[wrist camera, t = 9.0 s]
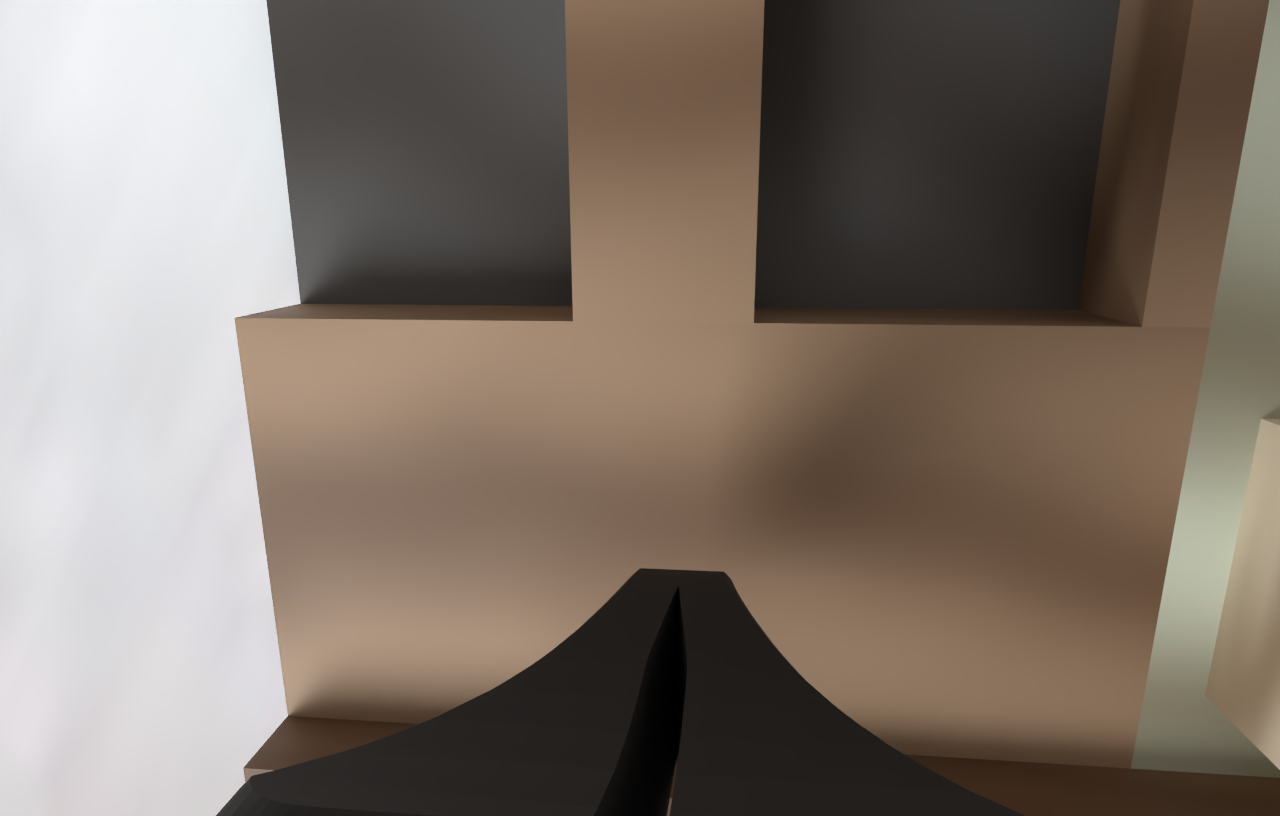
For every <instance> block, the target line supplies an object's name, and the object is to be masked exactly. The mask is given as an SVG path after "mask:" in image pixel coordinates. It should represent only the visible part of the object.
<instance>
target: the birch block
mask: <svg viewBox="0 0 1280 816" xmlns="http://www.w3.org/2000/svg"><path fill="white" fill-rule="evenodd" d="M1205 696H1206V697H1207V698H1208V699H1209V700H1210V701H1211V702H1212V703H1213V704H1214V705H1215V706H1216V707H1217V708H1218V709H1219V710H1220V711H1221V712H1222V713H1223V714H1224V715H1225V716H1226V717H1227V718H1228V719H1229V720H1230V721H1231V722H1232V723H1233V724H1234V725H1235V726H1236V727H1237V728H1238V729H1239V730H1240V731H1241V732H1242V733H1243V734H1244V735H1245V736H1246V737H1247V738H1248V739H1249V740H1250V741H1251V742H1252V743H1253V744H1254V745H1255V746H1256V747H1257V748H1258V749H1259V750H1260V751H1261V752H1262V753H1263V754H1264V755H1265V756H1266V757H1267V758H1268V759H1269V760H1270V761H1271V762H1272V763H1273V764H1274V765H1275V766H1276V767H1277V768H1278V769H1279V770H1280V419H1261V422H1260V427H1259V432H1258V436H1257V441H1256V446H1255V451H1254V456H1253V461H1252V466H1251V471H1250V476H1249V481H1248V486H1247V491H1246V496H1245V501H1244V506H1243V510H1242V515H1241V520H1240V525H1239V530H1238V535H1237V540H1236V545H1235V550H1234V555H1233V560H1232V565H1231V570H1230V575H1229V580H1228V584H1227V589H1226V594H1225V599H1224V604H1223V609H1222V614H1221V619H1220V624H1219V629H1218V634H1217V639H1216V644H1215V649H1214V653H1213V658H1212V663H1211V668H1210V673H1209V678H1208V683H1207V688H1206V693H1205Z"/></svg>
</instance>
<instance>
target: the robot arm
mask: <svg viewBox="0 0 1280 816" xmlns="http://www.w3.org/2000/svg"><path fill="white" fill-rule="evenodd" d="M676 759H677V770H676V778H675V784H674V790H673V797H672V803H671V809H670V815H669V816H1025V815H1023V814H1021V813H1018V812H1016V811H1014V810H1012V809H1009V808H1007V807H1005V806H1002V805H1000V804H998V803H996V802H993V801H991V800H989V799H987V798H984V797H982V796H980V795H978V794H975V793H973V792H971V791H969V790H967V789H965V788H963V787H961V786H959V785H958V784H956V783H954V782H952V781H950V780H948V779H947V778H945V777H943V776H941V775H939V774H937V773H936V772H934V771H932V770H930V769H928V768H926V767H925V766H923V765H921V764H919V763H917V762H916V761H914V760H912V759H911V758H909V757H908V756H906V755H904V754H903V753H901V752H899V751H898V750H896V749H894V748H893V747H891V746H890V745H888V744H887V743H885V742H884V741H882V740H881V739H880V738H878V737H877V736H875V735H874V734H872V733H871V732H870V731H868V730H867V729H865V728H864V727H862V726H861V725H859V724H858V723H857V722H855V721H854V720H852V719H851V718H850V717H849V716H847V715H846V714H845V713H843V712H842V711H841V710H840V709H838V708H837V707H836V706H835V705H833V704H832V703H831V702H830V701H829V700H828V699H827V698H825V697H824V696H823V695H822V694H821V693H820V692H819V691H817V690H816V689H815V688H814V687H813V686H812V685H811V684H809V683H808V682H807V681H806V680H805V679H804V678H803V677H802V676H801V675H800V674H799V673H798V672H797V670H796V669H795V668H794V667H793V666H792V665H791V664H790V663H789V662H788V661H787V659H786V658H785V657H784V656H783V655H782V654H781V652H780V651H779V650H778V649H777V648H776V646H775V645H774V644H773V643H772V641H771V640H770V639H769V638H768V636H767V635H766V634H765V632H764V631H763V630H762V628H761V627H760V626H759V624H758V623H757V622H756V620H755V619H754V617H753V616H752V614H751V613H750V612H749V610H748V608H747V607H746V605H745V604H744V602H743V601H742V599H741V597H740V596H739V594H738V592H737V590H736V588H735V586H734V584H733V582H732V580H731V578H730V577H729V576H728V575H727V574H726V573H725V572H722V571H697V570H672V569H647V568H640V569H639V570H638V571H636V572H635V573H634V574H633V575H632V576H631V577H630V578H629V579H628V580H627V581H626V582H625V583H624V584H623V585H622V586H621V587H620V589H619V590H618V591H617V592H616V593H615V594H614V595H613V596H612V597H611V598H610V599H609V600H608V601H607V602H606V603H605V604H604V605H603V606H602V607H601V608H600V609H599V610H598V611H597V612H596V613H595V614H593V615H592V616H591V617H590V618H589V619H588V620H587V621H586V622H585V623H584V624H583V625H582V626H581V627H580V628H579V629H577V630H576V631H575V632H574V633H573V634H571V635H570V636H569V637H568V638H566V639H565V640H564V641H563V642H562V643H560V644H559V645H558V646H557V647H555V648H554V649H553V650H552V651H550V652H549V653H548V654H546V655H545V656H544V657H542V658H541V659H539V660H538V661H536V662H535V663H534V664H532V665H531V666H529V667H528V668H526V669H524V670H523V671H521V672H520V673H518V674H516V675H515V676H513V677H512V678H510V679H508V680H507V681H505V682H504V683H502V684H500V685H498V686H497V687H495V688H493V689H491V690H489V691H487V692H485V693H483V694H481V695H479V696H477V697H475V698H473V699H471V700H469V701H467V702H465V703H463V704H461V705H459V706H457V707H455V708H453V709H451V710H449V711H447V712H445V713H443V714H441V715H439V716H437V717H435V718H433V719H430V720H428V721H425V722H423V723H421V724H418V725H416V726H413V727H411V728H408V729H406V730H403V731H401V732H398V733H395V734H393V735H390V736H387V737H384V738H382V739H379V740H376V741H373V742H370V743H368V744H365V745H362V746H359V747H356V748H352V749H349V750H346V751H343V752H340V753H336V754H332V755H329V756H325V757H321V758H318V759H314V760H311V761H307V762H303V763H300V764H296V765H292V766H289V767H285V768H282V769H278V770H274V771H270V772H266V773H262V774H257V775H253V776H251V777H250V778H249V780H248V781H247V782H246V783H245V784H244V785H243V786H242V787H241V788H240V789H239V790H238V791H237V793H236V794H235V795H234V796H233V797H232V798H231V799H230V801H229V802H228V803H227V804H226V805H225V806H224V807H223V808H222V810H221V811H220V812H219V813H218V814H217V815H216V816H667V812H668V806H669V800H670V794H671V789H672V783H673V777H674V771H675V765H676Z"/></svg>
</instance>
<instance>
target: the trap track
mask: <svg viewBox="0 0 1280 816" xmlns="http://www.w3.org/2000/svg"><path fill="white" fill-rule="evenodd" d="M267 7H268V16H269V25H270V34H271V43H272V52H273V61H274V70H275V78H276V87H277V96H278V105H279V114H280V123H281V132H282V141H283V149H284V158H285V167H286V176H287V185H288V194H289V203H290V212H291V220H292V229H293V238H294V247H295V256H296V265H297V274H298V283H299V291H300V300H301V304H298V305H293V306H288V307H284V308H279V309H274V310H270V311H265V312H261V313H256V314H251V315H247V316H242V317H237V318H235V324H236V332H237V339H238V346H239V354H240V361H241V369H242V376H243V384H244V391H245V398H246V406H247V413H248V421H249V428H250V436H251V443H252V451H253V458H254V465H255V473H256V480H257V488H258V495H259V503H260V510H261V517H262V525H263V532H264V540H265V547H266V555H267V562H268V569H269V577H270V584H271V592H272V599H273V607H274V614H275V621H276V629H277V636H278V644H279V651H280V659H281V666H282V673H283V681H284V688H285V696H286V703H287V711H288V717H287V718H286V719H285V720H284V721H283V723H282V724H281V725H280V726H279V727H278V728H277V730H276V731H275V732H274V733H273V734H272V735H271V737H270V738H269V739H268V740H267V741H266V742H265V744H264V745H263V746H262V747H261V748H260V749H259V751H258V752H257V753H256V754H255V755H254V756H253V758H252V759H251V760H250V761H249V762H248V763H247V765H246V766H245V767H244V768H243V769H244V775H245V782H247V781H248V780H249V778H250V777H251V776H253V775H257V774H262V773H266V772H270V771H274V770H278V769H282V768H285V767H289V766H292V765H296V764H300V763H303V762H307V761H311V760H314V759H318V758H321V757H325V756H329V755H332V754H336V753H340V752H343V751H346V750H349V749H352V748H356V747H359V746H362V745H365V744H368V743H370V742H373V741H376V740H379V739H382V738H384V737H387V736H390V735H393V734H395V733H398V732H401V731H403V730H406V729H408V728H411V727H413V726H416V725H418V724H421V723H423V722H425V721H428V720H430V719H433V718H435V717H437V716H439V715H441V714H443V713H445V712H447V711H449V710H451V709H453V708H455V707H457V706H459V705H461V704H463V703H465V702H467V701H469V700H471V699H473V698H475V697H477V696H479V695H481V694H483V693H485V692H487V691H489V690H491V689H493V688H495V687H497V686H498V685H500V684H502V683H504V682H505V681H507V680H508V679H510V678H512V677H513V676H515V675H516V674H518V673H520V672H521V671H523V670H524V669H526V668H528V667H529V666H531V665H532V664H534V663H535V662H536V661H538V660H539V659H541V658H542V657H544V656H545V655H546V654H548V653H549V652H550V651H552V650H553V649H554V648H555V647H557V646H558V645H559V644H560V643H562V642H563V641H564V640H565V639H566V638H568V637H569V636H570V635H571V634H573V633H574V632H575V631H576V630H577V629H579V628H580V627H581V626H582V625H583V624H584V623H585V622H586V621H587V620H588V619H589V618H590V617H591V616H592V615H593V614H595V613H596V612H597V611H598V610H599V609H600V608H601V607H602V606H603V605H604V604H605V603H606V602H607V601H608V600H609V599H610V598H611V597H612V596H613V595H614V594H615V593H616V592H617V591H618V590H619V589H620V587H621V586H622V585H623V584H624V583H625V582H626V581H627V580H628V579H629V578H630V577H631V576H632V575H633V574H634V573H635V572H636V571H638V570H639V569H640V568H647V569H672V570H697V571H722V572H725V573H726V574H727V575H728V576H729V577H730V578H731V580H732V582H733V584H734V586H735V588H736V590H737V592H738V594H739V596H740V597H741V599H742V601H743V602H744V604H745V605H746V607H747V608H748V610H749V612H750V613H751V614H752V616H753V617H754V619H755V620H756V622H757V623H758V624H759V626H760V627H761V628H762V630H763V631H764V632H765V634H766V635H767V636H768V638H769V639H770V640H771V641H772V643H773V644H774V645H775V646H776V648H777V649H778V650H779V651H780V652H781V654H782V655H783V656H784V657H785V658H786V659H787V661H788V662H789V663H790V664H791V665H792V666H793V667H794V668H795V669H796V670H797V672H798V673H799V674H800V675H801V676H802V677H803V678H804V679H805V680H806V681H807V682H808V683H809V684H811V685H812V686H813V687H814V688H815V689H816V690H817V691H819V692H820V693H821V694H822V695H823V696H824V697H825V698H827V699H828V700H829V701H830V702H831V703H832V704H833V705H835V706H836V707H837V708H838V709H840V710H841V711H842V712H843V713H845V714H846V715H847V716H849V717H850V718H851V719H852V720H854V721H855V722H857V723H858V724H859V725H861V726H862V727H864V728H865V729H867V730H868V731H870V732H871V733H872V734H874V735H875V736H877V737H878V738H880V739H881V740H882V741H884V742H885V743H887V744H888V745H890V746H891V747H893V748H894V749H896V750H898V751H899V752H901V753H903V754H904V755H906V756H908V757H909V758H911V759H912V760H914V761H916V762H917V763H919V764H921V765H923V766H925V767H926V768H928V769H930V770H932V771H934V772H936V773H937V774H939V775H941V776H943V777H945V778H947V779H948V780H950V781H952V782H954V783H956V784H958V785H959V786H961V787H963V788H965V789H967V790H969V791H971V792H973V793H975V794H978V795H980V796H982V797H984V798H987V799H989V800H991V801H993V802H996V803H998V804H1000V805H1002V806H1005V807H1007V808H1009V809H1012V810H1014V811H1016V812H1018V813H1021V814H1023V815H1025V816H1280V770H1279V769H1278V768H1277V767H1276V766H1275V765H1274V764H1273V763H1272V762H1271V761H1270V760H1269V759H1268V758H1267V757H1266V756H1265V755H1264V754H1263V753H1262V752H1261V751H1260V750H1259V749H1258V748H1257V747H1256V746H1255V745H1254V744H1253V743H1252V742H1251V741H1250V740H1249V739H1248V738H1247V737H1246V736H1245V735H1244V734H1243V733H1242V732H1241V731H1240V730H1239V729H1238V728H1237V727H1236V726H1235V725H1234V724H1233V723H1232V722H1231V721H1230V720H1229V719H1228V718H1227V717H1226V716H1225V715H1224V714H1223V713H1222V712H1221V711H1220V710H1219V709H1218V708H1217V707H1216V706H1215V705H1214V704H1213V703H1212V702H1211V701H1210V700H1209V699H1208V698H1207V697H1206V696H1205V693H1206V688H1207V683H1208V678H1209V673H1210V668H1211V663H1212V658H1213V653H1214V649H1215V644H1216V639H1217V634H1218V629H1219V624H1220V619H1221V614H1222V609H1223V604H1224V599H1225V594H1226V589H1227V584H1228V580H1229V575H1230V570H1231V565H1232V560H1233V555H1234V550H1235V545H1236V540H1237V535H1238V530H1239V525H1240V520H1241V515H1242V510H1243V506H1244V501H1245V496H1246V491H1247V486H1248V481H1249V476H1250V471H1251V466H1252V461H1253V456H1254V451H1255V446H1256V441H1257V436H1258V432H1259V427H1260V422H1261V419H1280V0H267ZM676 770H677V759H676V765H675V771H674V777H673V783H672V789H671V794H670V800H669V806H668V812H667V816H669V815H670V809H671V803H672V797H673V790H674V784H675V778H676Z"/></svg>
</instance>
